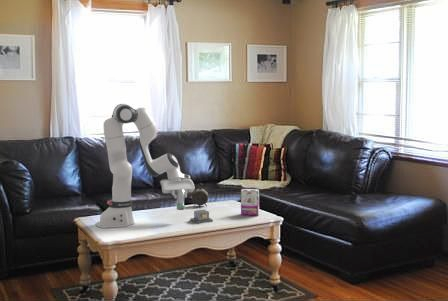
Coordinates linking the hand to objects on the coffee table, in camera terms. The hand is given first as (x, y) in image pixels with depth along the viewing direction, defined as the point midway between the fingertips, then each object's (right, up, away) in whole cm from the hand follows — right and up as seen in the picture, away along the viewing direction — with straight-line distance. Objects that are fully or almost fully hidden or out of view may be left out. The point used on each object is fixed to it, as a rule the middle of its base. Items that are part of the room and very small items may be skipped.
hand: (181, 197), depth 332 cm
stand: (+12, -15, +6) cm, 20 cm away
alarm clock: (+10, -10, +46) cm, 49 cm away
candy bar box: (+43, -13, +21) cm, 49 cm away
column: (-1, -7, +1) cm, 7 cm away
